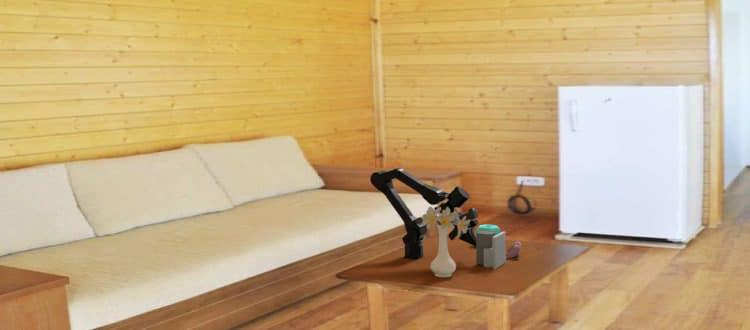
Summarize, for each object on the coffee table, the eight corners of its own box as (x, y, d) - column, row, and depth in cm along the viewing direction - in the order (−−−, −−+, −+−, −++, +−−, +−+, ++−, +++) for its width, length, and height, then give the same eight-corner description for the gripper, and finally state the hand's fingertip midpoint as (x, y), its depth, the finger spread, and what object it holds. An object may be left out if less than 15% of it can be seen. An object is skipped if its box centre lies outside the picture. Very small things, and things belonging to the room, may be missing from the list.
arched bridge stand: (482, 267, 323) (482, 236, 322) (492, 261, 334) (492, 230, 333) (495, 268, 321) (495, 237, 320) (505, 262, 332) (505, 231, 330)
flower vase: (461, 282, 302) (460, 212, 299) (414, 276, 312) (413, 208, 309) (476, 274, 313) (475, 206, 311) (430, 269, 323) (430, 203, 320)
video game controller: (515, 262, 337) (523, 247, 336) (505, 257, 338) (513, 242, 337) (516, 257, 347) (524, 242, 346) (506, 252, 347) (514, 237, 346)
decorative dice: (475, 244, 365) (474, 226, 364) (487, 242, 370) (487, 223, 369) (489, 247, 359) (489, 228, 358) (501, 244, 364) (501, 226, 363)
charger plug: (476, 264, 328) (476, 233, 327) (480, 261, 333) (480, 230, 331) (495, 265, 325) (494, 234, 323) (499, 263, 329) (499, 232, 328)
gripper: (456, 205, 322) (483, 237, 318) (474, 198, 338) (500, 228, 335) (437, 224, 326) (463, 256, 323) (455, 216, 343) (481, 246, 339)
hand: (478, 246), depth 330 cm, fingers closed, pressing on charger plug
